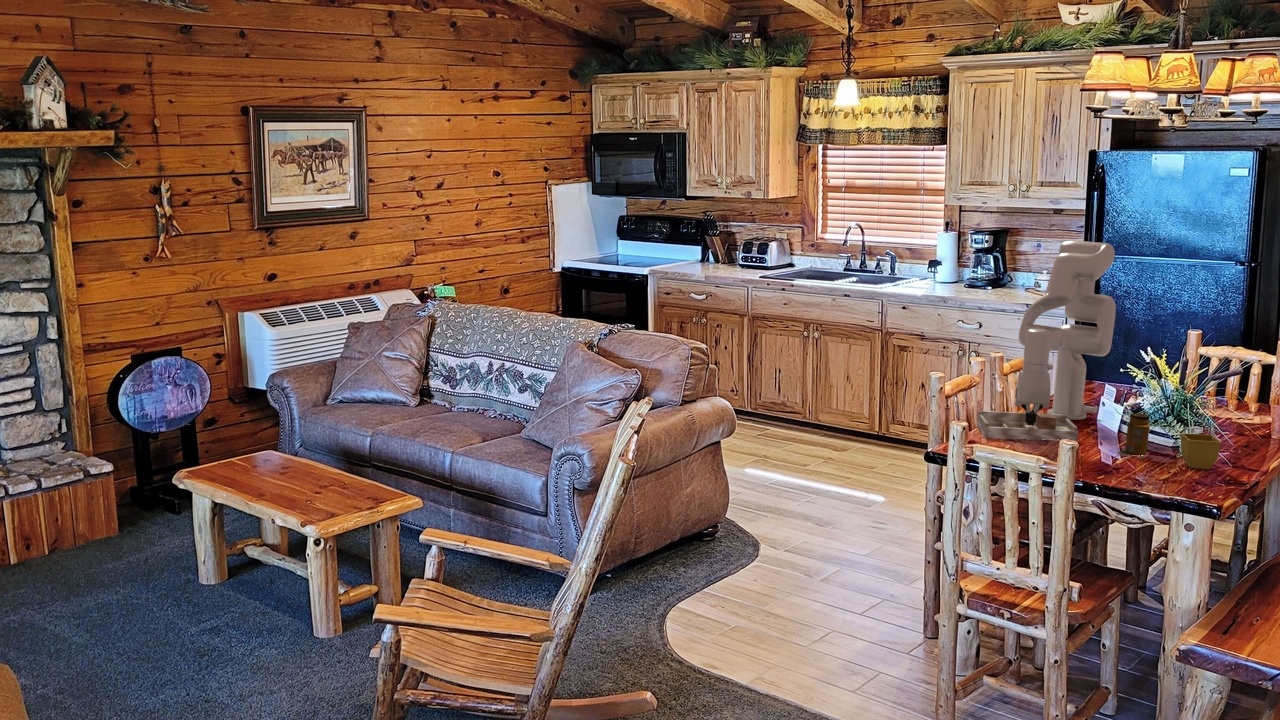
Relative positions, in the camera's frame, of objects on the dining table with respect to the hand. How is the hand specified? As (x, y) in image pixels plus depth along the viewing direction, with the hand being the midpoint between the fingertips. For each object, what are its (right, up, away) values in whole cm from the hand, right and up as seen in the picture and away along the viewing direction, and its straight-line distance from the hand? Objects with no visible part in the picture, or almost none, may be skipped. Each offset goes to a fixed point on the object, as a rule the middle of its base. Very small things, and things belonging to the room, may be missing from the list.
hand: (1030, 424), depth 358 cm
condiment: (+25, -8, -19) cm, 32 cm away
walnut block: (+5, -1, -1) cm, 5 cm away
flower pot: (+38, -11, -32) cm, 50 cm away
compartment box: (-1, -3, +1) cm, 4 cm away
